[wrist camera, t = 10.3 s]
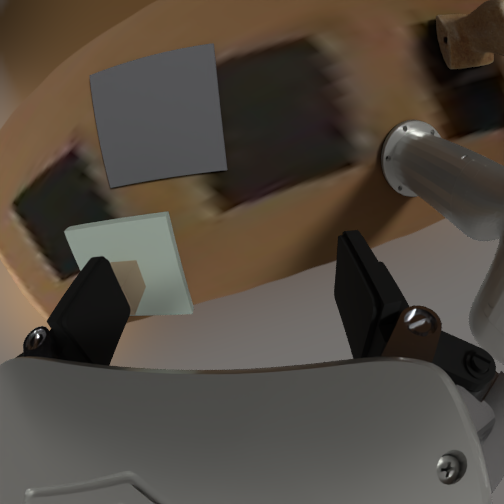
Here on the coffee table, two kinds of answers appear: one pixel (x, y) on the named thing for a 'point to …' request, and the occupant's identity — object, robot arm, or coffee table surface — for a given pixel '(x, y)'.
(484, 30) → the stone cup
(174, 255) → the lid
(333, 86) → the coffee table surface
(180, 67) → the mat
